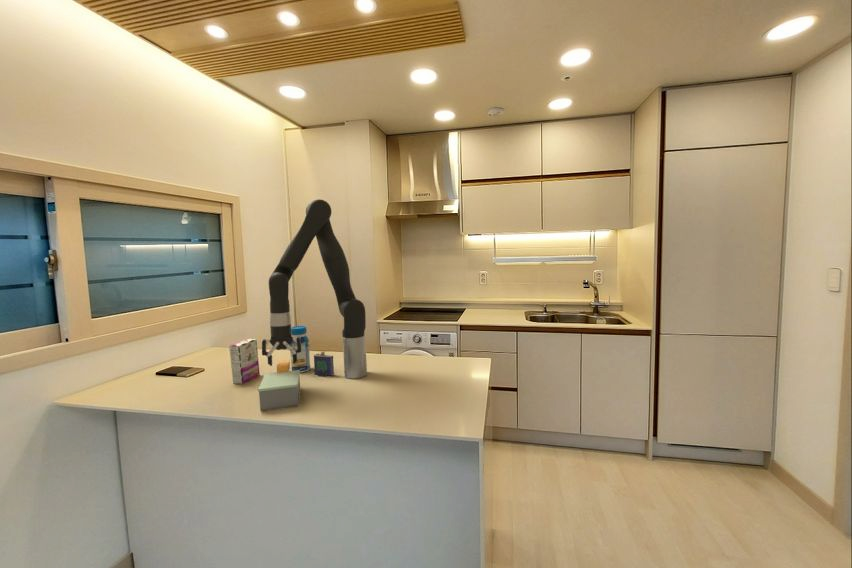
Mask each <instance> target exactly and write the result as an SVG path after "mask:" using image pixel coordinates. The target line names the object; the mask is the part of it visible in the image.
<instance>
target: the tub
mask: <svg viewBox="0 0 852 568" xmlns="http://www.w3.org/2000/svg"><path fill="white" fill-rule="evenodd" d="M300 374H301V373H300ZM300 374H299V380H298V386H297V387H290V388H282V389H274V390H266V391H259V392H258V397H259V409H260V411H263V412H269V410H270V411H275V410H276V409H277V410H283V408H284V409H289V408H290V407H292V408H297V407H299V404H300V403H299V402H300V396H301V377H300ZM290 409H291V408H290ZM277 410H276V411H277Z"/></svg>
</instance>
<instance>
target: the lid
mask: <svg viewBox="0 0 852 568" xmlns="http://www.w3.org/2000/svg"><path fill="white" fill-rule="evenodd" d="M290 368H291V361H290V360H282V361H278V363H277V365H276V372H269V373H264V375H263V378H262V380H261V382H260V384H259V387H258V389H257V391H258V393H259V391H266V390H274V389H282V388H290V387H297V386H298V380H299V374H301V373H300V370H295V371H292V370H290Z"/></svg>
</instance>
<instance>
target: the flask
mask: <svg viewBox="0 0 852 568" xmlns="http://www.w3.org/2000/svg"><path fill="white" fill-rule="evenodd" d="M325 353H326V350H324V351H320V353H319V352H318V353H316V354H314V355H313V364H314V367H313V368H314V369H313V371H314V376H315V375H318V376H317V377H327V376H330V377H334V376H335V368H334V367H335V366H334V355H333V354H325ZM333 375H334V376H333Z"/></svg>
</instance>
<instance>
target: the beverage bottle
mask: <svg viewBox="0 0 852 568" xmlns="http://www.w3.org/2000/svg"><path fill="white" fill-rule="evenodd" d="M307 333H308V332H307V326H306V325H294V326H291V334H292V337H293V338H295V337H298V336H299V337H300V341H301V352H299V353H297V361H296V362H295V363H294V364H293V353H292V352H291V351H290V350H289V351H290V368H291V371H295V370H300V374H301V373H305V371H306V372H308V371H310V370H311V359H310V358H311V357H310V349H311V348H310V344H309V342H310V339H309V338H308V335H307ZM291 345H292V346H293V347H294V348H295V349H298V348H297V343H295V341H292V343H291Z"/></svg>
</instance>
